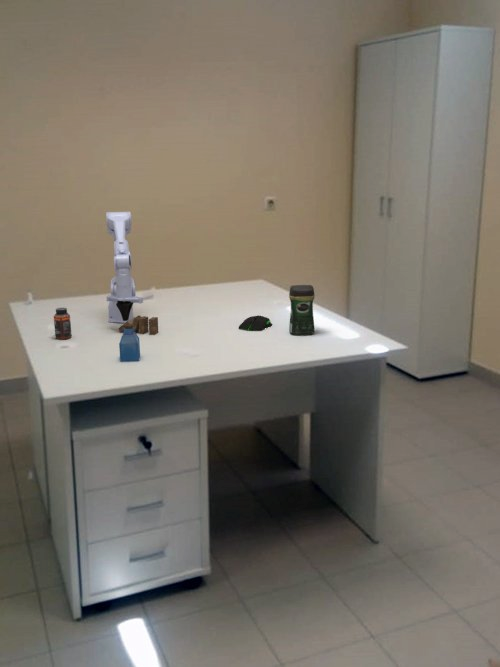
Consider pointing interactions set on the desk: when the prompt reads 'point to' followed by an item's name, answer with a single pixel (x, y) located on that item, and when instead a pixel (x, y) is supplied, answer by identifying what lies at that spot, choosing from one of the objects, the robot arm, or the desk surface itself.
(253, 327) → the computer mouse
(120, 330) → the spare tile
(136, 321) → the domino
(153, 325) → the domino
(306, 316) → the coffee jar
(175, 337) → the desk surface
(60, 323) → the supplement bottle
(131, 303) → the robot arm
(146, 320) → the domino
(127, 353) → the perfume bottle
